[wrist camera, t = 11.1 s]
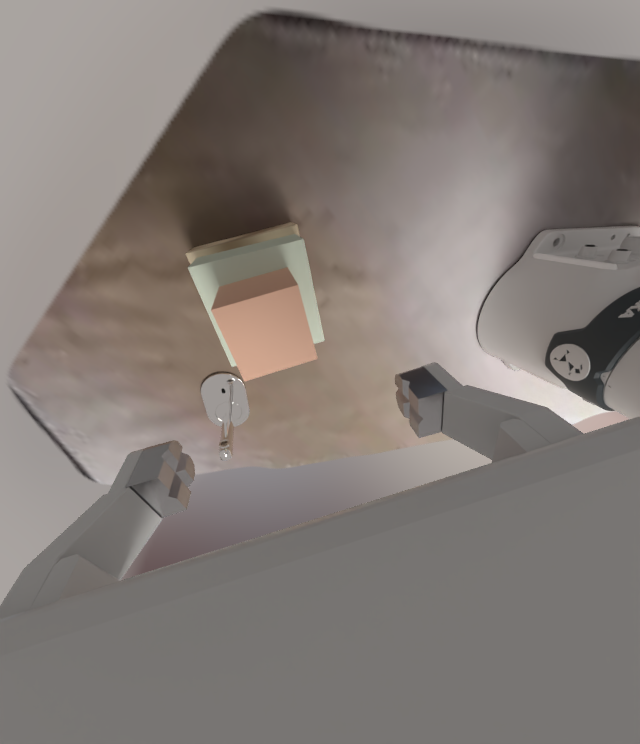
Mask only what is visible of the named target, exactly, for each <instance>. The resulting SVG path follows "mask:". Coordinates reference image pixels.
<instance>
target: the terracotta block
mask: <svg viewBox="0 0 640 744" xmlns="http://www.w3.org/2000/svg"><path fill="white" fill-rule="evenodd" d="M211 311H212V313H213V316H214V318H215V320H216V322H217V324H218V326H219V328H220V330H221V333H222V335H223V337H224V339H225V341H226V343H227V345H228V347H229V350H230V352H231V354H232V356H233V358H234V360H235V362H236V365H237V367H238V369H239V371H240V373H241V375H242V377H243V379H244V382H245V381H248V380H251V379H254V378H257V377H261V376H264V375H267V374H270V373H273V372H277V371H280V370H283V369H286V368H290V367H293V366H296V365H299V364H302V363H306V362H309V361H312V360H315V359H318V358H317V354H316V351H315V347H314V343H313V339H312V335H311V332H310V328H309V324H308V320H307V317H306V313H305V309H304V305H303V301H302V298H301V294H300V290H299V286H298V284H297V282H296V280H295V279H294V277H293V275H292V274H291V272H290V271H289V269H288V267H286V268H283V269H279V270H276V271H272V272H269V273H265V274H262V275H258V276H255V277H251V278H248V279H244V280H241V281H238V282H234V283H231V284H227V285H224V286H220V287H219V288H218V291H217V294H216V297H215V300H214V303H213V306H212V308H211Z"/></svg>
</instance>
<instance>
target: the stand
mask: <svg viewBox="0 0 640 744" xmlns="http://www.w3.org/2000/svg"><path fill="white" fill-rule="evenodd" d="M201 395H202V399H203V402H204V405H205V409H206V412H207V415H208V417H209V419H210V420H211V422H213V423H214V424H216V425H218V426H220V427H222V428H221V437H220V443H219V457H220V459H221V460H222V461H227V460H229V459H231V457H232V455H233V437H234V427H235V426H238V425H240V424H242V423H243V422H245V421H246V419H247V418H248V416H249V412H250V410H249V403H248V398H247V392H246V387H245V384H244V382H243V381H242V380H241V379H240V378H239V377H238V376H236V375H234V374H232V373H227V372H219V373H215V374H212V375H210V376H209V377H207V378H206V379H205V380H204V382H203V384H202V387H201Z"/></svg>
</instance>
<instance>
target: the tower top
mask: <svg viewBox="0 0 640 744" xmlns="http://www.w3.org/2000/svg"><path fill="white" fill-rule="evenodd" d="M286 267H288V269H289V271H290V272H291V274H292V275H293V277H294V279H295V280H296V282H297V284H298V286H299V290H300V294H301V298H302V301H303V305H304V309H305V313H306V317H307V320H308V324H309V328H310V332H311V335H312V339H313V343H314V344H315V343H319V342H322V341H325V340H324V336H323V331H322V326H321V321H320V316H319V311H318V306H317V301H316V296H315V291H314V287H313V282H312V277H311V272H310V267H309V262H308V257H307V252H306V247H305V243H304V239H303V238H301V237H300V236H298V235H297V234H292V235H288V236H284V237H280V238H276V239H271V240H267V241H263V242H259V243H255V244H251V245H247V246H243V247H239V248H235V249H231V250H227V251H222V252H218V253H214V254H210V255H206V256H202V257H198V258H196V259H195V260H194V261H193V263H192V264H191V265H190V266H189V267H188V269H189V272H190V274H191V276H192V278H193V281H194V283H195V285H196V287H197V290H198V292H199V294H200V296H201V299H202V301H203V303H204V305H205V308H206V310H207V312H208V314H209V317H210V319H211V321H212V323H213V326H214V328H215V330H216V332H217V335H218V337H219V339H220V341H221V343H222V346H223V348H224V350H225V352H226V355H227V357H228V359H229V361H230V364H231V366H232V367H234V366H237V365H236V362H235V360H234V358H233V356H232V354H231V352H230V350H229V347H228V345H227V343H226V341H225V339H224V337H223V335H222V333H221V330H220V328H219V326H218V324H217V322H216V320H215V318H214V316H213V313H212V311H211V308H212V306H213V303H214V300H215V297H216V294H217V291H218V288H219V287H220V286H224V285H227V284H231V283H234V282H238V281H241V280H244V279H248V278H251V277H255V276H258V275H262V274H265V273H269V272H272V271H276V270H279V269H283V268H286Z"/></svg>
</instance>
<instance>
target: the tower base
mask: <svg viewBox="0 0 640 744" xmlns="http://www.w3.org/2000/svg"><path fill="white" fill-rule="evenodd" d="M292 234H297V235H298V236H300V235H299V230H298V226H297V224H294V223H292V222H290V223H286V224H282V225H278V226H275V227H271V228H267V229H263V230H259V231H255V232H251V233H248V234H244V235H240V236H236V237H232V238H228V239H224V240H221V241H217V242H213V243H209V244H205V245H201V246H198V247H194V248H192V249H191V250H190V251H188V252H187V253H186V256H187V258H188V260H189V263H190V265H191V264H192V263H193V261H194V260H195V259H196V258H198V257H202V256H206V255H210V254H214V253H218V252H222V251H227V250H231V249H235V248H239V247H243V246H247V245H251V244H255V243H259V242H263V241H267V240H271V239H276V238H280V237H284V236H288V235H292Z"/></svg>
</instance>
